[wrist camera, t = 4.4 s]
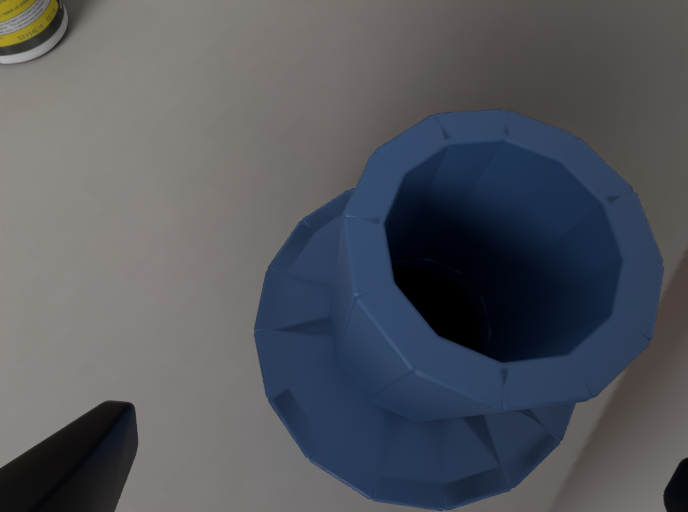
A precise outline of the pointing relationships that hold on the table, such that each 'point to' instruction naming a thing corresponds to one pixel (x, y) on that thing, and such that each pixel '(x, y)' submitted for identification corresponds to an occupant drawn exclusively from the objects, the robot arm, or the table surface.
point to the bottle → (456, 308)
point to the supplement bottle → (30, 28)
